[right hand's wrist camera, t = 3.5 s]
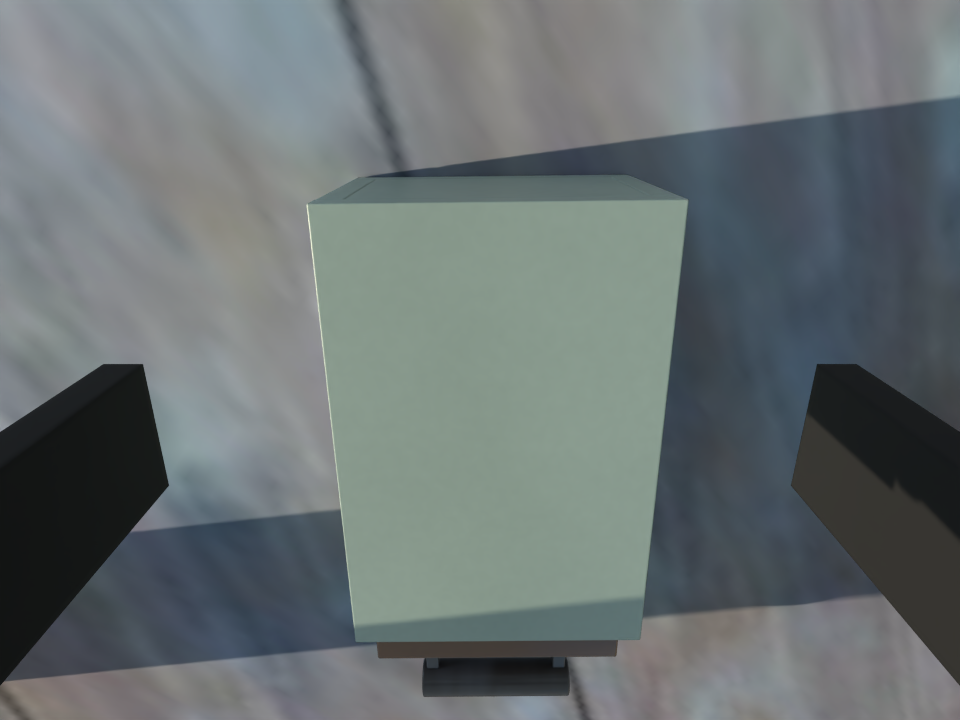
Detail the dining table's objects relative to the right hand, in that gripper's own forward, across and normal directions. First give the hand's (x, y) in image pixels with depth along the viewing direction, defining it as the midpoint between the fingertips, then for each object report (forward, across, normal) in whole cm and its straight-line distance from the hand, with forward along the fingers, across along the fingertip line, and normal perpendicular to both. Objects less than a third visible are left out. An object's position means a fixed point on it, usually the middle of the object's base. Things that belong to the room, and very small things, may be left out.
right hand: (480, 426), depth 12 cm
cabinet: (+16, +1, -5) cm, 16 cm away
